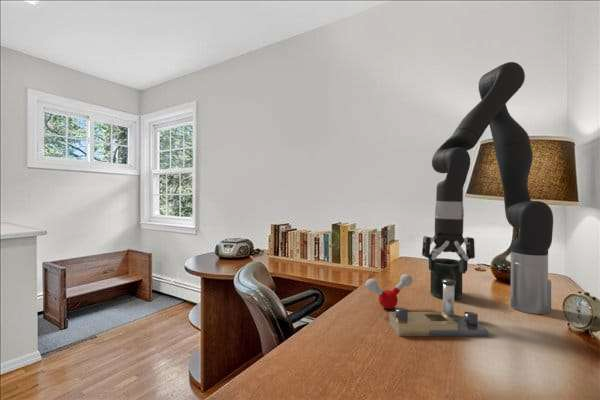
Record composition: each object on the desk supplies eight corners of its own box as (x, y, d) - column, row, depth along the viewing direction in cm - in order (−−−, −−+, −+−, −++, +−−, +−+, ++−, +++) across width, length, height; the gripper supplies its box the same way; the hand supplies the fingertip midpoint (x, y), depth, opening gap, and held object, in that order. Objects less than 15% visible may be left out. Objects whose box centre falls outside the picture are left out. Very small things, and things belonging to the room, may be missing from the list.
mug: (423, 295, 108) (423, 260, 108) (442, 287, 118) (442, 255, 118) (455, 303, 100) (455, 266, 100) (472, 294, 110) (473, 260, 109)
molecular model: (376, 317, 87) (376, 282, 87) (361, 311, 92) (361, 277, 92) (414, 305, 97) (414, 274, 97) (399, 300, 102) (399, 270, 102)
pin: (451, 312, 92) (451, 278, 92) (457, 317, 88) (458, 282, 88) (439, 312, 92) (439, 278, 92) (445, 317, 88) (445, 282, 88)
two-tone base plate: (470, 323, 84) (470, 304, 84) (488, 336, 76) (488, 315, 76) (389, 322, 84) (389, 304, 84) (398, 335, 76) (398, 315, 76)
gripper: (466, 216, 94) (465, 270, 94) (419, 215, 94) (418, 269, 94) (480, 218, 86) (479, 276, 86) (429, 217, 86) (428, 275, 86)
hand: (447, 272), depth 90 cm, fingers open, 8 cm apart
